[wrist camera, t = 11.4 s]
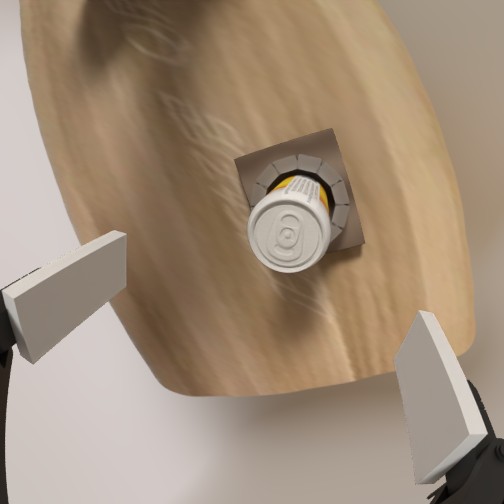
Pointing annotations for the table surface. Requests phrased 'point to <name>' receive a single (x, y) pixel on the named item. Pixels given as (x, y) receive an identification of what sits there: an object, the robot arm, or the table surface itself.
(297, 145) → the cup holder
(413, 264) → the table surface
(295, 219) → the beer can
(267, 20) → the table surface
